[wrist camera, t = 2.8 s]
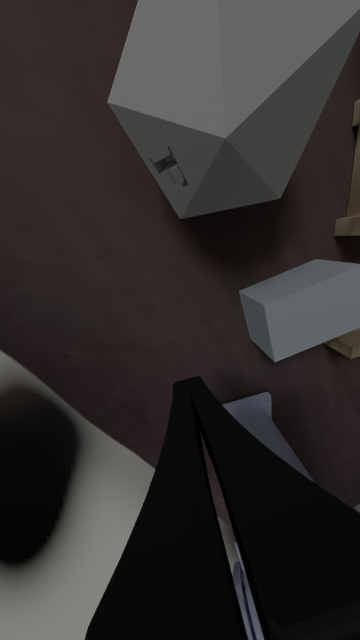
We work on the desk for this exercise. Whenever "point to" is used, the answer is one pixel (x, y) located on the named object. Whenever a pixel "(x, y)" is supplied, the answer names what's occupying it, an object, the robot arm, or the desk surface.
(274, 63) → the die
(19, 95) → the desk surface
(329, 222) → the desk surface
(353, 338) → the channel
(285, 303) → the grey block
